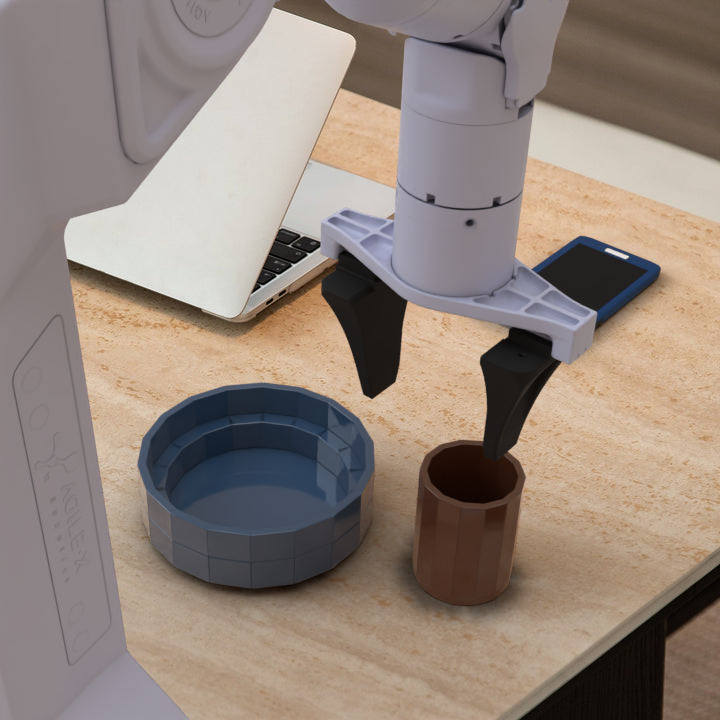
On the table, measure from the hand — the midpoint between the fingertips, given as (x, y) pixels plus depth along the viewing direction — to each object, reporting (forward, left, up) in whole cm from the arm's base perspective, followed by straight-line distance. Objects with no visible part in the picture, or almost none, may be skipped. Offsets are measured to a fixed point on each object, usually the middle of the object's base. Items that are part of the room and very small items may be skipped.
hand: (438, 418), depth 64 cm
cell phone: (+30, +3, -10) cm, 32 cm away
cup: (0, -2, -10) cm, 10 cm away
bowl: (-2, +10, -10) cm, 14 cm away
